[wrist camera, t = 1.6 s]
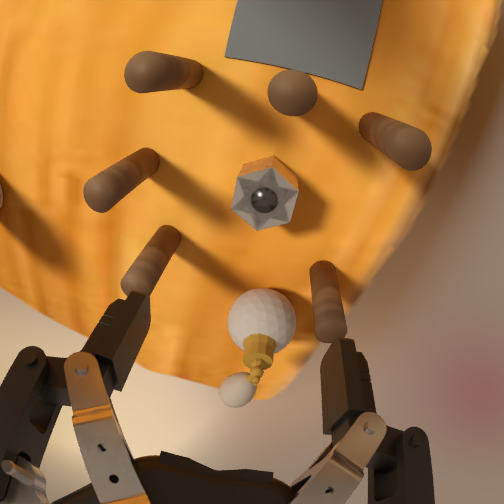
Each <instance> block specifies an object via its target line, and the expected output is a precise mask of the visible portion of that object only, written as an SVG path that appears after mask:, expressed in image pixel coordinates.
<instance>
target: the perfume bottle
mask: <svg viewBox="0 0 504 504" xmlns="http://www.w3.org/2000/svg"><path fill="white" fill-rule="evenodd" d="M296 323H297V319H296V314H295V310H294V308H293V306H292V304H291V303H290V301H289V300H288V299H287V298H286V297H285V296H284V295H283V294H281V293H279V292H278V291H275V290H272V289H268V288H257V289H252V290H249V291H247V292H245V293H243V294H242V295H240V296H239V297H238V298H237V299H236V300H235V302H234V303H233V305H232V307H231V309H230V312H229V314H228V329H229V333H230V335H231V337H232V339H233V341H234V343H235V344H236V345H237V346H238V347H239V348H240V349H242V350H243V351H244V356H243V362H244V364H245V366H247V367H249V368H250V369H251V370H250V373H246V372H240V373H235V374H233V375H230V376H229V377H227V378H226V379H225V380H224V381H223V382H222V383H221V386H220V388H219V396H220V399H221V400H222V402H223V403H224V404H225V405H227V406H229V407H234V408H237V407H242V406H244V405H246V404H247V403H248V402H250V401H251V399H252V398H253V396H254V395H255V392H256V389H257V383H258V382H259V381H260V378H261V377H262V375H263V373H264V371H263V370H265V369H267V368H269V367H271V365H272V363H273V354H275V353H277V352H279V351H281V350H282V349H283V348H285V347H286V346H287V345H288V344H289V342H290V341H291V339H292V338H293V335H294V333H295V330H296Z"/></svg>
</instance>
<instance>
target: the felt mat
mask: <svg viewBox="0 0 504 504" xmlns="http://www.w3.org/2000/svg"><path fill="white" fill-rule="evenodd" d="M382 2H383V0H238V2H237V5H236V9H235V13H234V18H233V22H232V26H231V30H230V35H229V39H228V43H227V48H226V52H225V57H229V58H236V59H242V60H249V61H254V62H260V63H265V64H270V65H275V66H280V67H284V68H289V69H293V70H299V71H302V72H305V73H309V74H313V75H316V76H320V77H323V78H327V79H330V80H334V81H337V82H340V83H343V84H346V85H349V86H352V87H355V88H358V89H361V90H362V87H363V84H364V80H365V76H366V72H367V68H368V64H369V60H370V56H371V52H372V47H373V43H374V39H375V34H376V30H377V25H378V21H379V16H380V11H381V6H382Z"/></svg>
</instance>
